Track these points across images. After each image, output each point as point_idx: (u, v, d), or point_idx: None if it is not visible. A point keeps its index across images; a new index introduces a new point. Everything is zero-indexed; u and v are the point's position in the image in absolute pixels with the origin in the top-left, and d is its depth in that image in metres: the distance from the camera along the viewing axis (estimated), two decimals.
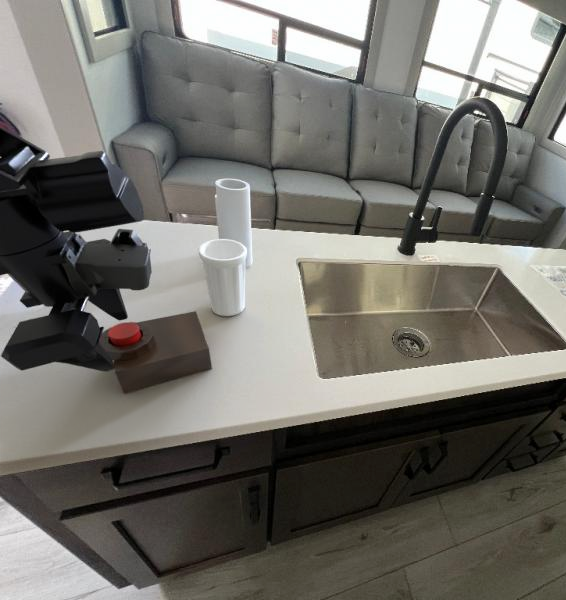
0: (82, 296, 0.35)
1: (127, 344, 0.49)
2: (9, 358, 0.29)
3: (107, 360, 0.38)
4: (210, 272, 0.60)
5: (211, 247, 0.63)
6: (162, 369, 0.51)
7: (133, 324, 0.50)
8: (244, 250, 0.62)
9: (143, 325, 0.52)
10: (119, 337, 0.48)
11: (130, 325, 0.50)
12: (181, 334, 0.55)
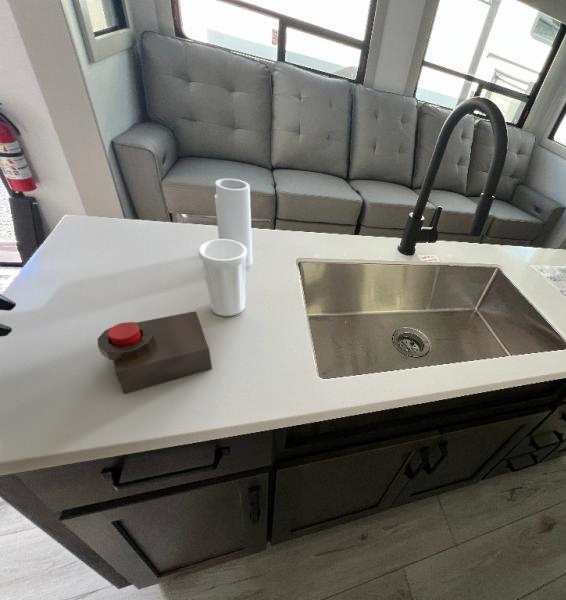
0: None
1: (127, 344, 0.49)
2: None
3: None
4: (210, 272, 0.60)
5: (211, 247, 0.63)
6: (162, 369, 0.51)
7: (133, 324, 0.50)
8: (244, 250, 0.62)
9: (143, 325, 0.52)
10: (119, 337, 0.48)
11: (130, 325, 0.50)
12: (181, 334, 0.55)
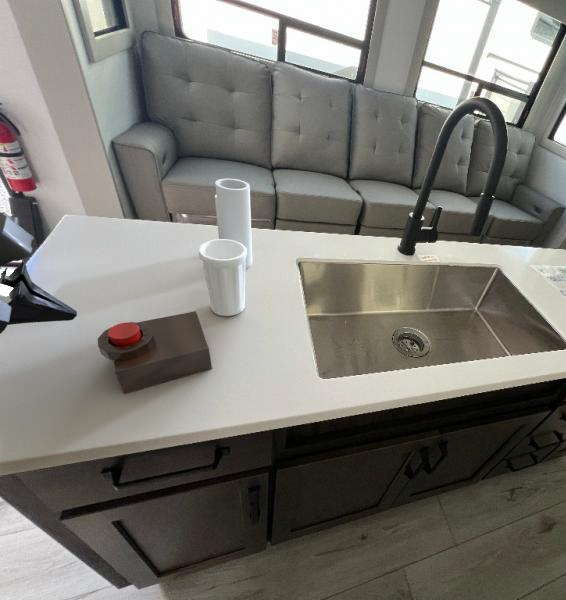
0: None
1: (127, 344, 0.49)
2: None
3: (59, 309, 0.42)
4: (210, 272, 0.60)
5: (211, 247, 0.63)
6: (162, 369, 0.51)
7: (133, 324, 0.50)
8: (244, 250, 0.62)
9: (143, 325, 0.52)
10: (119, 337, 0.48)
11: (130, 325, 0.50)
12: (181, 334, 0.55)
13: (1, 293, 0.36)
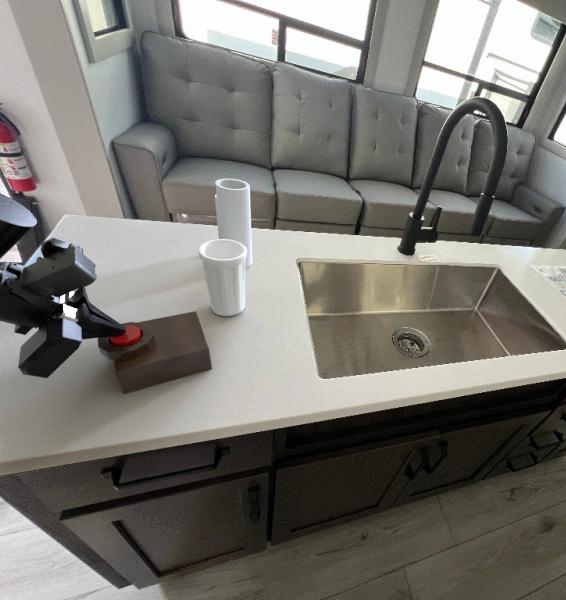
0: (52, 309, 0.40)
1: None
2: (28, 373, 0.37)
3: (113, 326, 0.47)
4: (210, 272, 0.60)
5: (211, 247, 0.63)
6: (162, 369, 0.51)
7: (134, 327, 0.51)
8: (244, 250, 0.62)
9: (143, 325, 0.52)
10: (120, 341, 0.48)
11: (132, 328, 0.51)
12: (181, 334, 0.55)
13: (70, 314, 0.41)
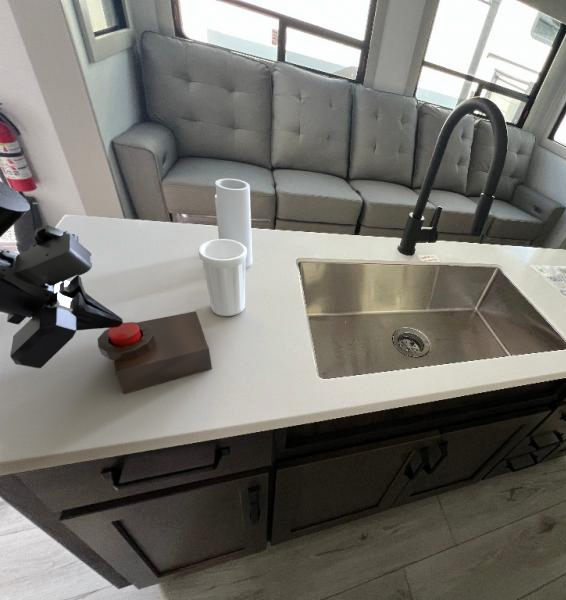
0: (45, 297, 0.39)
1: (127, 344, 0.49)
2: (20, 362, 0.35)
3: (109, 317, 0.46)
4: (210, 272, 0.60)
5: (211, 247, 0.63)
6: (162, 369, 0.51)
7: (133, 324, 0.50)
8: (244, 250, 0.62)
9: (143, 325, 0.52)
10: (119, 337, 0.48)
11: (130, 325, 0.50)
12: (181, 334, 0.55)
13: (64, 304, 0.40)
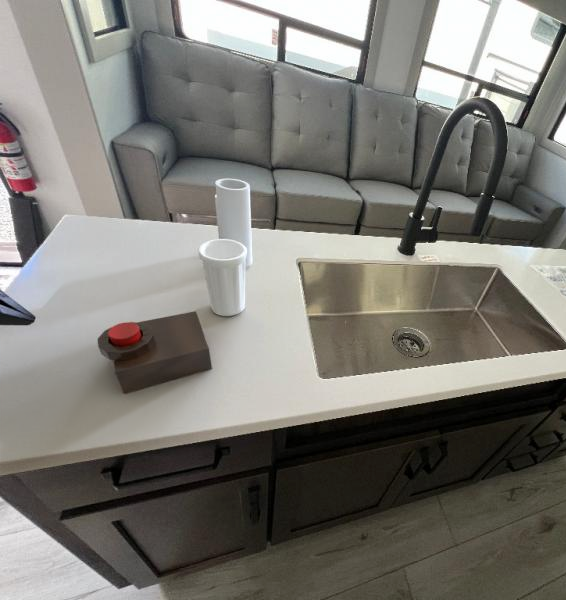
0: None
1: (127, 344, 0.49)
2: None
3: (14, 315, 0.39)
4: (210, 272, 0.60)
5: (211, 247, 0.63)
6: (162, 369, 0.51)
7: (133, 324, 0.50)
8: (244, 250, 0.62)
9: (143, 325, 0.52)
10: (119, 337, 0.48)
11: (130, 325, 0.50)
12: (181, 334, 0.55)
13: None
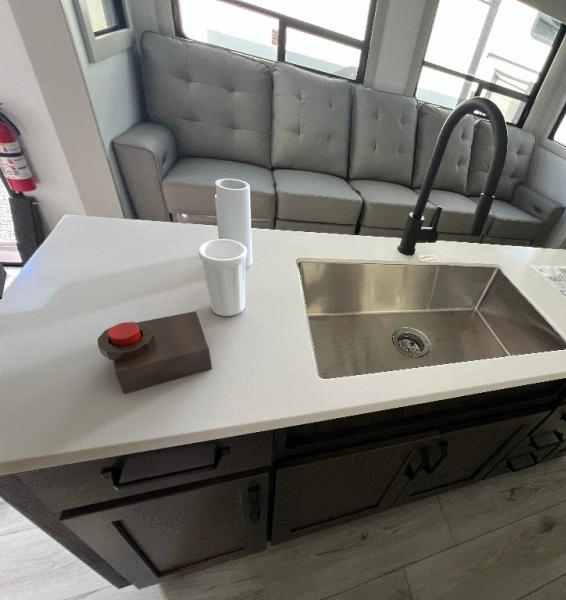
0: None
1: (127, 344, 0.49)
2: None
3: None
4: (210, 272, 0.60)
5: (211, 247, 0.63)
6: (162, 369, 0.51)
7: (133, 324, 0.50)
8: (244, 250, 0.62)
9: (143, 325, 0.52)
10: (119, 337, 0.48)
11: (130, 325, 0.50)
12: (181, 334, 0.55)
13: None
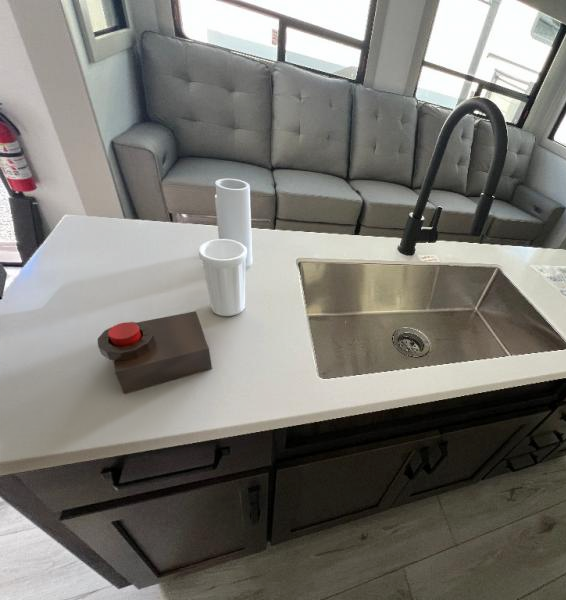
0: None
1: (127, 344, 0.49)
2: None
3: None
4: (210, 272, 0.60)
5: (211, 247, 0.63)
6: (162, 369, 0.51)
7: (133, 324, 0.50)
8: (244, 250, 0.62)
9: (143, 325, 0.52)
10: (119, 337, 0.48)
11: (130, 325, 0.50)
12: (181, 334, 0.55)
13: None
